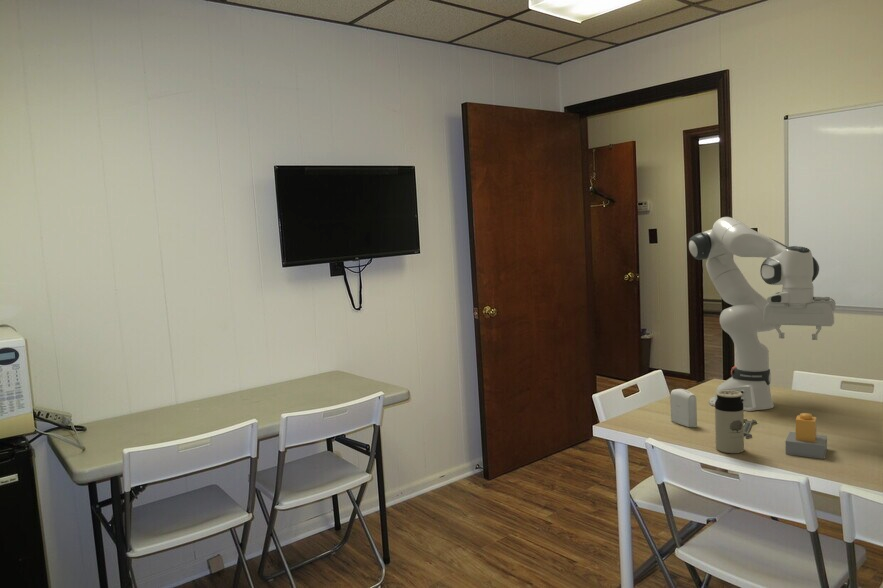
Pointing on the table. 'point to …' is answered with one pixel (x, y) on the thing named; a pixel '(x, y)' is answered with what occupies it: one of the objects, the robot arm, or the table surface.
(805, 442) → the box
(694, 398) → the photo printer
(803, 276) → the robot arm
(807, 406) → the table surface
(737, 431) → the travel mug
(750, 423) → the wrench
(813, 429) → the orange cube with knob
